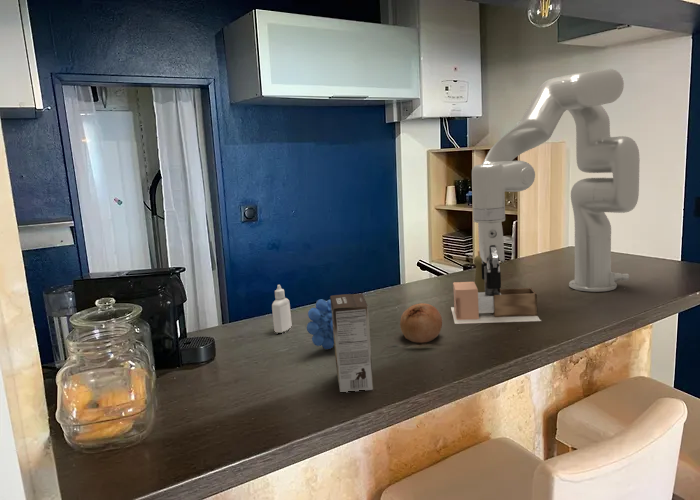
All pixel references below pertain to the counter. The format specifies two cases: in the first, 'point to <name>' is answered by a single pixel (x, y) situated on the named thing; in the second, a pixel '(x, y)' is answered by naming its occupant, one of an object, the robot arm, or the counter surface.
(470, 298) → the terracotta socket
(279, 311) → the eye dropper bottle
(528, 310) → the walnut sleeve
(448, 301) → the counter surface
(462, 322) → the grey base board
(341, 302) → the coffee box
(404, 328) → the onion
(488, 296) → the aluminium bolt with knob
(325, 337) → the grapes
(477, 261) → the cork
